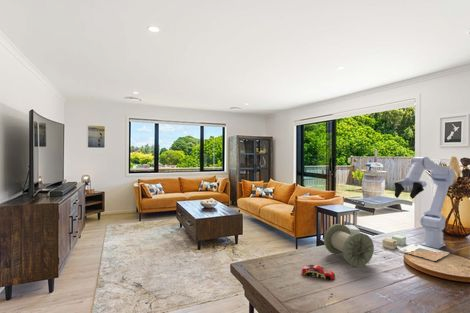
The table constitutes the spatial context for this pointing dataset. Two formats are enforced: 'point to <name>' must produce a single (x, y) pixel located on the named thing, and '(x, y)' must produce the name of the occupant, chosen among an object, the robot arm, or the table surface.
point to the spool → (349, 244)
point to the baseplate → (419, 249)
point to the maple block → (389, 243)
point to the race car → (317, 272)
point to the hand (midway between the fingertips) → (403, 196)
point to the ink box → (352, 229)
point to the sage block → (399, 239)
